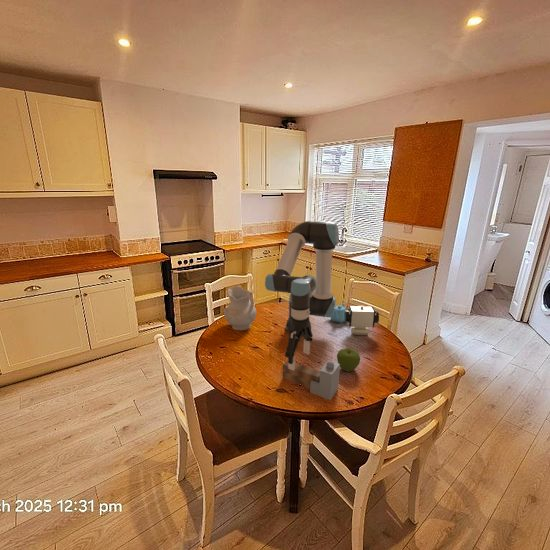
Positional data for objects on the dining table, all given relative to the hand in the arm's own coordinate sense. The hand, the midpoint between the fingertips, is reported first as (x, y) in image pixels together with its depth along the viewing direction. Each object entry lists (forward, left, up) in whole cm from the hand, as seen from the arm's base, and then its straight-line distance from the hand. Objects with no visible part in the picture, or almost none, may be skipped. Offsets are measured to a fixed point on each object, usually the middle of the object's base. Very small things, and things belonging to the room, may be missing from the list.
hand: (299, 361), depth 129 cm
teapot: (-8, +68, -10) cm, 69 cm away
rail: (+2, -1, -10) cm, 10 cm away
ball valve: (+9, +57, -10) cm, 58 cm away
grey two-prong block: (+12, 0, -10) cm, 16 cm away
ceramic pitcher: (-54, +28, -10) cm, 61 cm away
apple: (+15, +20, -10) cm, 27 cm away
